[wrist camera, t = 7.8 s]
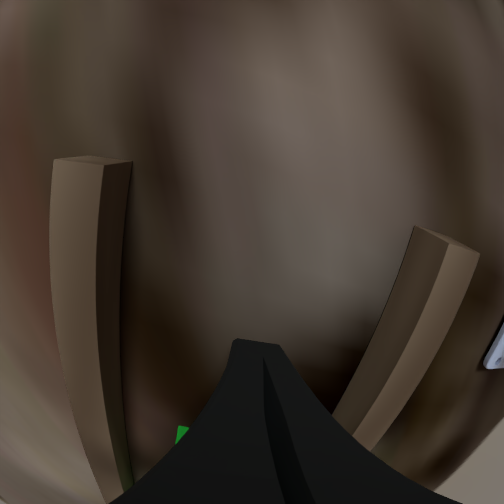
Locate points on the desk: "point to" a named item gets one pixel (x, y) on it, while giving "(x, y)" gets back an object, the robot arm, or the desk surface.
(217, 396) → the robot arm
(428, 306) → the guide track
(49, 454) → the desk surface
